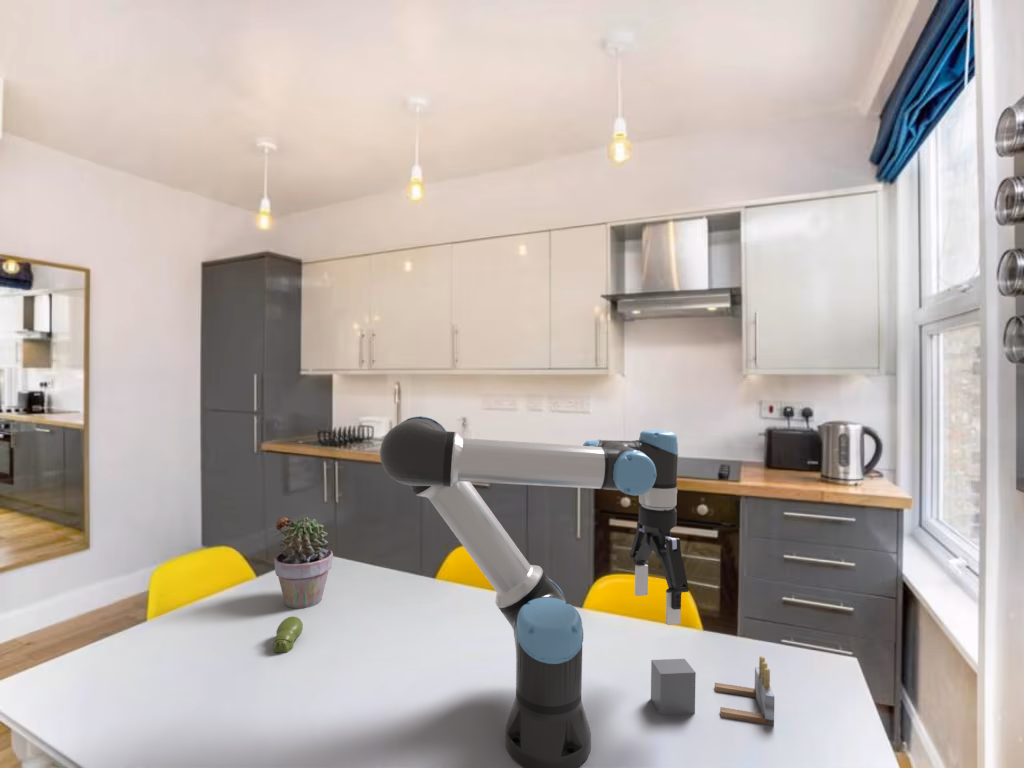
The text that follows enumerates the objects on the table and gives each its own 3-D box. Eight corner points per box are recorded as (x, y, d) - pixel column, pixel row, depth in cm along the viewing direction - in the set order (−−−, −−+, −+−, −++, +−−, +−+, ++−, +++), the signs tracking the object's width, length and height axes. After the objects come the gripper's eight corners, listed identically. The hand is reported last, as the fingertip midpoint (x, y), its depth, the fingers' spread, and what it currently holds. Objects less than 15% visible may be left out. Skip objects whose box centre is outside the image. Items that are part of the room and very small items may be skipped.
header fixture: (773, 725, 97) (774, 678, 97) (721, 716, 100) (722, 670, 100) (762, 694, 107) (763, 651, 107) (714, 687, 109) (715, 644, 109)
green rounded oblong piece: (305, 612, 129) (291, 638, 119) (306, 631, 130) (292, 659, 120) (282, 612, 129) (266, 638, 119) (283, 631, 130) (267, 659, 120)
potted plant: (354, 595, 153) (355, 511, 153) (296, 621, 136) (297, 526, 136) (315, 582, 162) (316, 502, 162) (256, 604, 146) (257, 516, 146)
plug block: (694, 713, 101) (695, 672, 101) (660, 715, 100) (660, 673, 100) (683, 697, 106) (684, 658, 106) (650, 699, 105) (651, 660, 105)
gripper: (709, 521, 95) (707, 636, 95) (646, 492, 119) (645, 583, 120) (672, 523, 93) (670, 640, 94) (616, 493, 118) (614, 586, 118)
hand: (656, 608), depth 107 cm, fingers open, 13 cm apart
